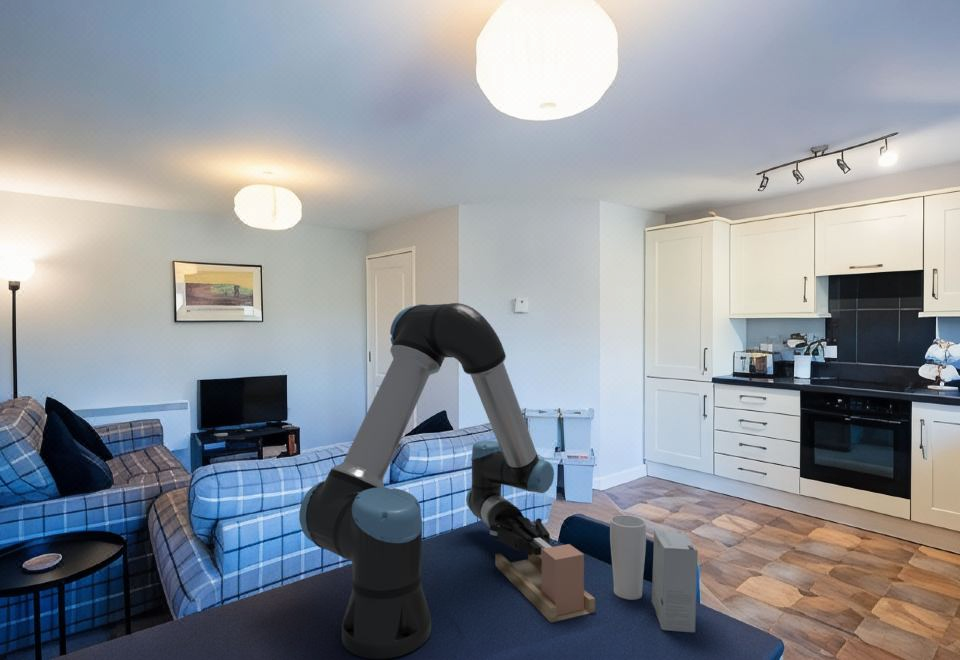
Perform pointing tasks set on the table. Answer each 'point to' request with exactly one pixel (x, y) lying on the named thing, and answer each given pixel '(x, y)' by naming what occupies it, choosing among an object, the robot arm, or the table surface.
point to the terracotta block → (563, 578)
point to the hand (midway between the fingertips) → (552, 557)
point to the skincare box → (674, 580)
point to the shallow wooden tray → (537, 586)
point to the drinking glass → (628, 555)
